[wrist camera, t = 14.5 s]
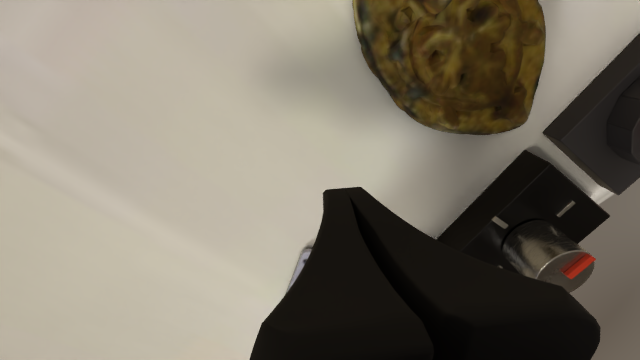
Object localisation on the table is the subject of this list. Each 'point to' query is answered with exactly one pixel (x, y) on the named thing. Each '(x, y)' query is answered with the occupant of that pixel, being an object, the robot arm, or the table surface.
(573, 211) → the dial plate
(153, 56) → the table surface
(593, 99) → the power block
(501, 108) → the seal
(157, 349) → the table surface
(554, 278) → the dial
